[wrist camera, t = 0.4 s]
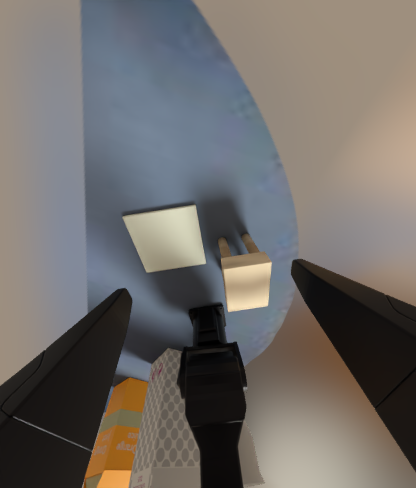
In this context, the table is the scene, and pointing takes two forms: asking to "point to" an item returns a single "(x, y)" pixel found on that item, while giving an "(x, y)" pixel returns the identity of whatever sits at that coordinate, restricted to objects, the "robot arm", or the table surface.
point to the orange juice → (117, 437)
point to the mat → (167, 238)
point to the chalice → (248, 459)
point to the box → (165, 433)
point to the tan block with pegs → (245, 276)
